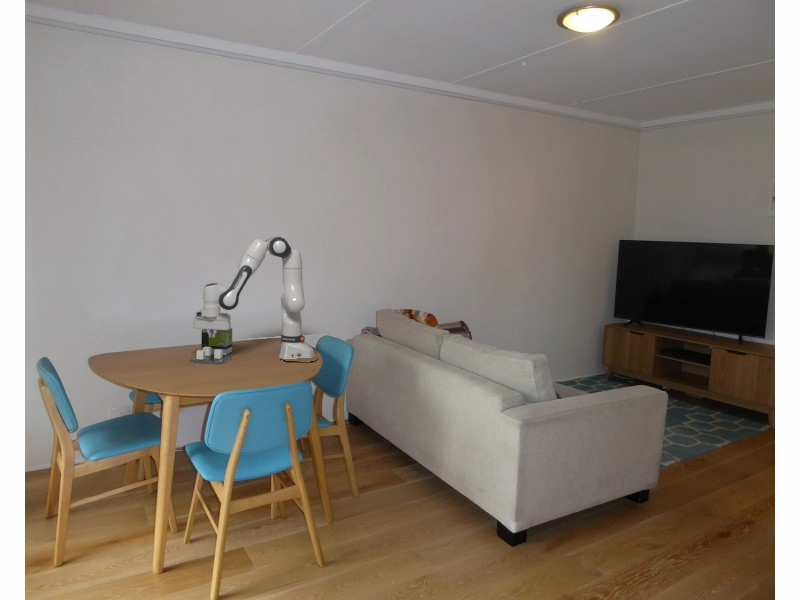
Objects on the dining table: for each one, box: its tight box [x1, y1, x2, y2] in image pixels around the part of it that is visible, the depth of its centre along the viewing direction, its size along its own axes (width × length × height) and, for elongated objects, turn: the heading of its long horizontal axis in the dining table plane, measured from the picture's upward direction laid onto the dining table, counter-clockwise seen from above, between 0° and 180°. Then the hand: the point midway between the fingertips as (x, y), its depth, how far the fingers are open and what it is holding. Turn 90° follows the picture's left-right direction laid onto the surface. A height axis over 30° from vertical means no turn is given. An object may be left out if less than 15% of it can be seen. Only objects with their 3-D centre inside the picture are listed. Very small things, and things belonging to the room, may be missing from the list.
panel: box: [189, 354, 232, 365], centre depth 307 cm, size 18×14×2 cm
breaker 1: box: [196, 349, 205, 360], centre depth 302 cm, size 4×3×4 cm
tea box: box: [200, 327, 233, 356], centre depth 325 cm, size 15×10×15 cm
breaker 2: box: [203, 347, 212, 356], centre depth 311 cm, size 4×3×4 cm
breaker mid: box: [213, 349, 223, 359], centre depth 306 cm, size 4×3×4 cm
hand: (212, 337), depth 305 cm, fingers closed
